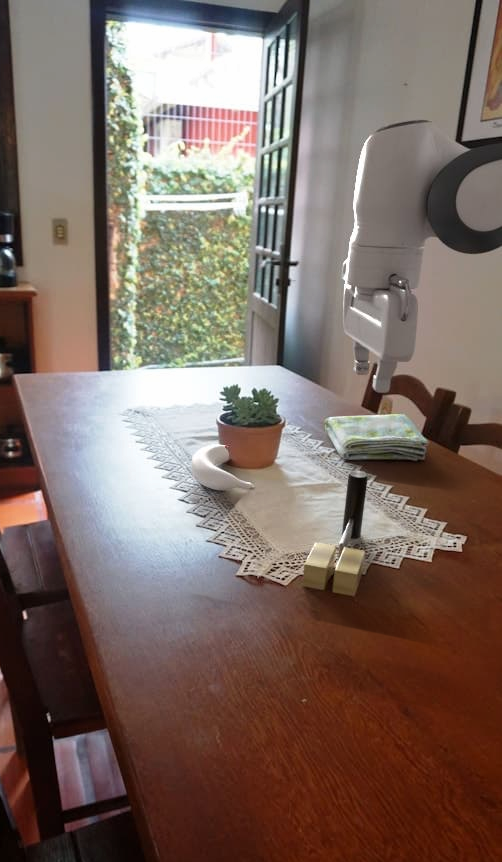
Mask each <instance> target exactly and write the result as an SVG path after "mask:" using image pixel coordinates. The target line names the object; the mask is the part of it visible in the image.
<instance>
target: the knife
mask: <svg viewBox="0 0 502 862" xmlns="http://www.w3.org/2000/svg"><path fill="white" fill-rule="evenodd" d="M368 477H369V474H368V472H365V471H363V470H350V471H349V472H348V477H347V487H346V493H345V494H346V495H345V504H344V512H343V520H342V529H341V534H342V537H341V539H340V540H339V544H338V545H339V546H338V555H337V563H338V562H339V559H340V557H341V554H342V552H343V549H344V547H346V548H349V544H350V541H351V540H353V539H354V540H355V539H359V538H360V537H361V536H362V535H361V534H362V526H363V518H364V512H365V511H364V510H365V502H366V494H367V485H368Z"/></svg>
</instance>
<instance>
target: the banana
mask: <svg viewBox="0 0 502 862" xmlns="http://www.w3.org/2000/svg"><path fill="white" fill-rule="evenodd" d="M225 446H226V445H223V444H211V445H207V446H204V447H202V448H200V449H198V450H197V451H196V452H195V453H194V454H193V455H192V458H191V461H190V469H189V470H190V473H191V475H192V477H193V478H194V479H195V480H196V481H197V482H198V483H199V484H201V485H203V486H204V487H206V488H208V489H211V490H215V491H229V490H231V489H232V490H233V489H235V488H237V489H238V488H239V489H242V490H246V491H249V490H250V489H251V488H252V489H254V488H255V485H253V483H252V482H249V481H248V482H247V481H245V480H241V479H239V478H238V477H236V476H234V475H233V474H231V473H230V472H227V471H225V470H224V469H221V468H219V467H217V466H218V465H220V464H225V463H227V461H228V459H229V452H228V450H227V449H226V448H225ZM228 462H229V461H228Z"/></svg>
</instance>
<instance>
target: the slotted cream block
mask: <svg viewBox="0 0 502 862" xmlns="http://www.w3.org/2000/svg"><path fill="white" fill-rule="evenodd" d="M336 553H337V545H335V544H328V543H323V542H316V541H315V542H314V544H313V546H312V549H311V551H310V553H309V555H308V557H307V559H306V561H305V562H304V564H303V574H302V575H303V576H302V587H306V588H311V589H317V590H320V591H325V589H326V587H327V584H328V583H329V579H330V577H331V575H332V572H333V570H334V573H333V574H334V575H333V583H332V590H331V591H332V593H336V594H341V595H345V596H350V597H355V596H356V593H357V590H358V587H359V584H360V581H361V578H362V577H363V572H364V565H365V558H366V550H362V549H357V548H350V547H347V548H346V547H344V549H343V552H342V554H341V557H340V559H339V562H338V561H337V564H336V567H335V562H336ZM334 567H335V569H334Z"/></svg>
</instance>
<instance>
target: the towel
mask: <svg viewBox="0 0 502 862" xmlns="http://www.w3.org/2000/svg"><path fill="white" fill-rule="evenodd" d="M324 430H325V432H326V433H327V435H328V437H329V439H330V441H331V442H332V444H333V447H334V448H335V449H336V451H337V453H338V455H339V456H340V457H341V458H342V459H344V460H347V461H364V460H366V461H367V460H408V461H409V460H410V461H414V462H417V461H423V460H425V459H426V458H425V457H426V452H427V447H428V446H429V445H430V443H429V440H428V439H427V438H426V437H424V435H423V433H421V432H420V431H419V429H418V428H417V426H416V425H415V424H414V423H413V421H412V420H411V419H410V418H409V417H408V416H407V415H406V414H404V413H401V414H398V413H396V414H394V413H392V414H372V415H371V414H370V415H345V416H344V415H342V416H331V417H327V418H325V420H324Z"/></svg>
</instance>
